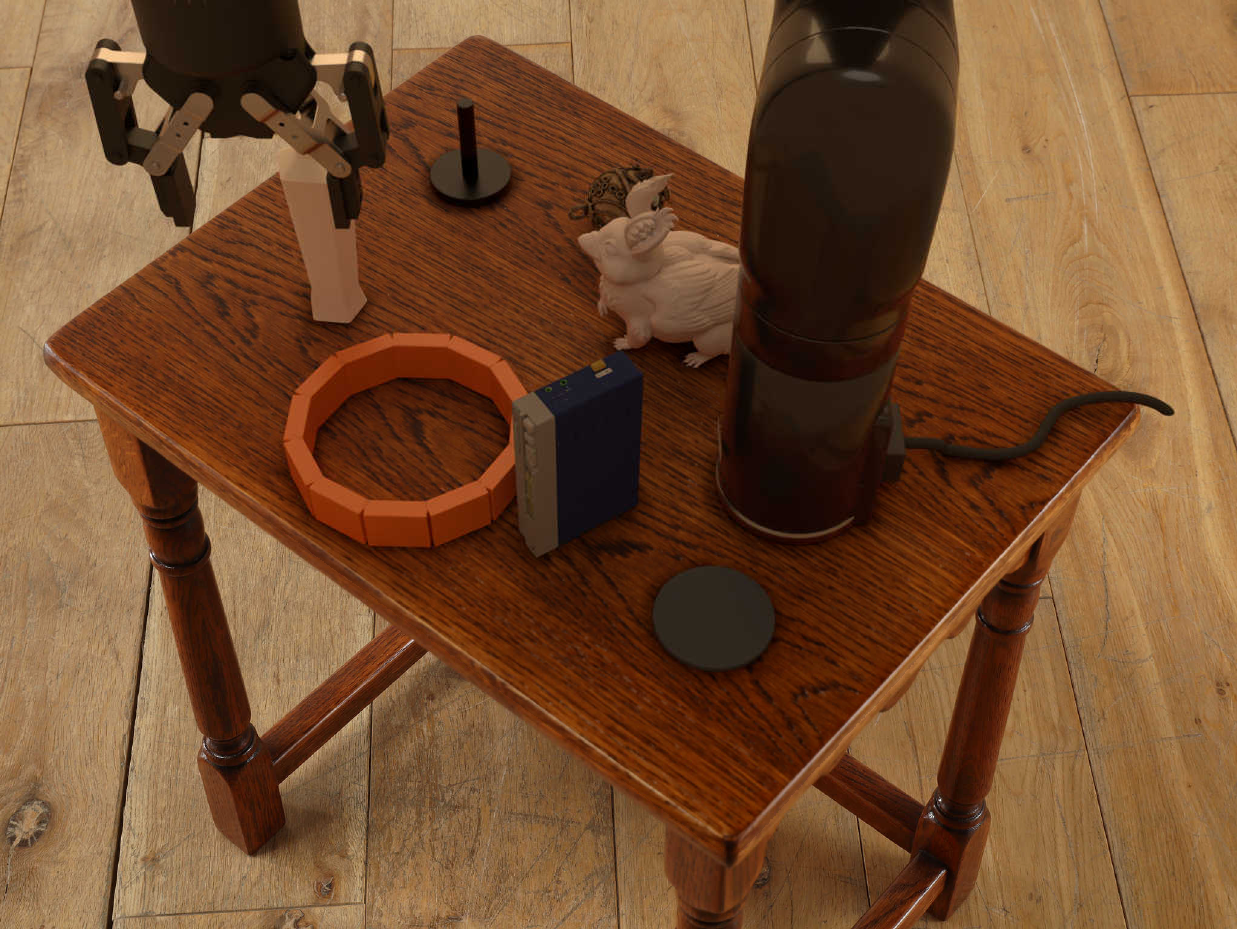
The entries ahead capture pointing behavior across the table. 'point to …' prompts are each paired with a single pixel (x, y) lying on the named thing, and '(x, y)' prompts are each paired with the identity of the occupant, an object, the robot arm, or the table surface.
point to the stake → (469, 168)
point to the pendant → (615, 195)
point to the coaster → (713, 618)
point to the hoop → (375, 367)
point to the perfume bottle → (321, 239)
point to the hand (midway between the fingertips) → (266, 218)
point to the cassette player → (578, 451)
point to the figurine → (665, 278)
